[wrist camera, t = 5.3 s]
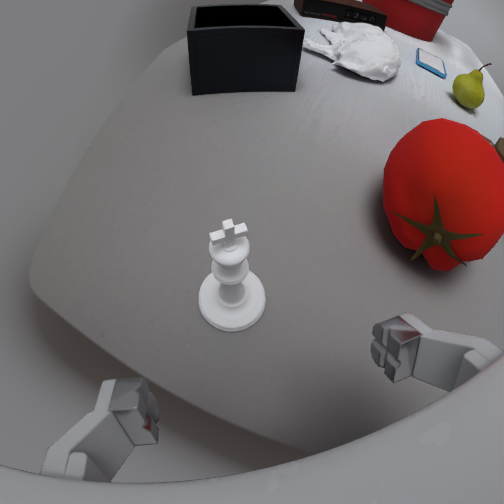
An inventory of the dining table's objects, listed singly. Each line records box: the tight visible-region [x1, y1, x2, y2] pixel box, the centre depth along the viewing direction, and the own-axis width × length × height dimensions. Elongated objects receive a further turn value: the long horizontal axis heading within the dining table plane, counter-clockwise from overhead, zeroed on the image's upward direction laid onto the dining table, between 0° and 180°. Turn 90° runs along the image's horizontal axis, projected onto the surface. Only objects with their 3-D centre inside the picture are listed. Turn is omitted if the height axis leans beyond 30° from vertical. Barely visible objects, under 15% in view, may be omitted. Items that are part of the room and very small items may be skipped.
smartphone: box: [416, 48, 447, 78], centre depth 49 cm, size 8×1×15 cm
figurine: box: [303, 22, 400, 82], centre depth 42 cm, size 22×25×6 cm
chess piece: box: [199, 219, 266, 332], centre depth 17 cm, size 5×5×10 cm
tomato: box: [383, 118, 504, 271], centre depth 21 cm, size 13×13×13 cm
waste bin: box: [187, 4, 305, 95], centre depth 33 cm, size 14×14×10 cm
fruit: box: [452, 63, 491, 109], centre depth 36 cm, size 7×7×12 cm
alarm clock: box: [294, 0, 388, 31], centre depth 56 cm, size 24×12×6 cm, turn 92°
